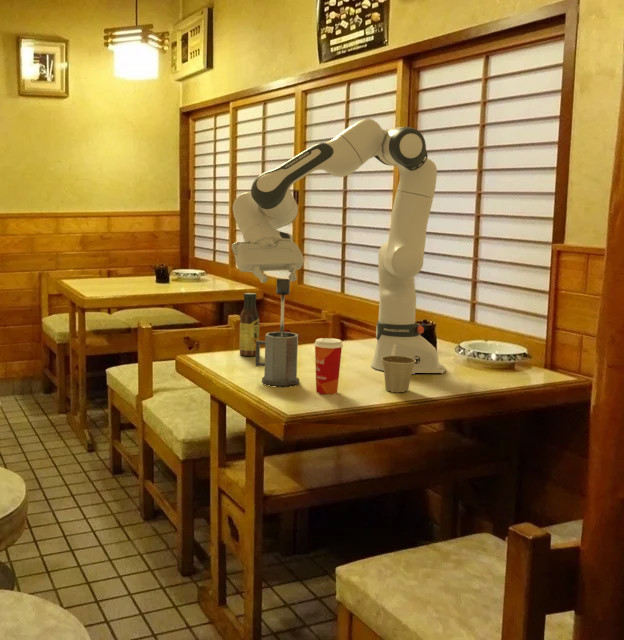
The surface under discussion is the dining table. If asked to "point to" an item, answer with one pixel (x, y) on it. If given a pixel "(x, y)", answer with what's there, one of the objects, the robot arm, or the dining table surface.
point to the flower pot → (397, 372)
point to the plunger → (282, 298)
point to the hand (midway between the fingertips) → (279, 280)
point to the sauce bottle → (249, 326)
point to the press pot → (279, 359)
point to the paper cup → (327, 364)
